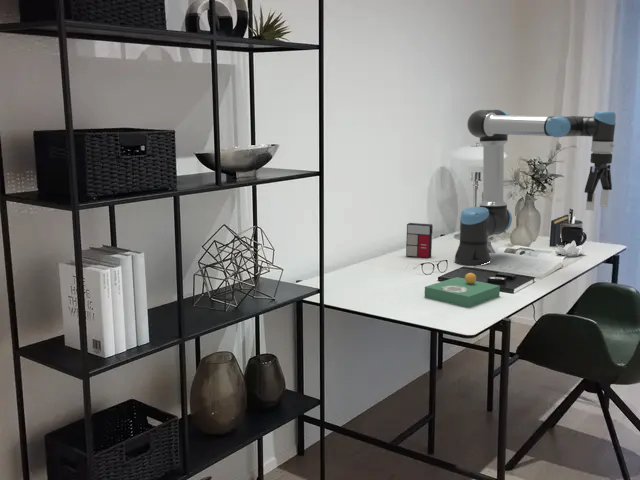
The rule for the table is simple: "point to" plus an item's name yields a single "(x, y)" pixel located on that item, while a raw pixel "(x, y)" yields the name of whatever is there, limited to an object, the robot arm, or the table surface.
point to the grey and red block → (419, 240)
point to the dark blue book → (556, 230)
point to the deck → (462, 292)
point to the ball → (470, 278)
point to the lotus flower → (569, 250)
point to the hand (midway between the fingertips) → (596, 208)
